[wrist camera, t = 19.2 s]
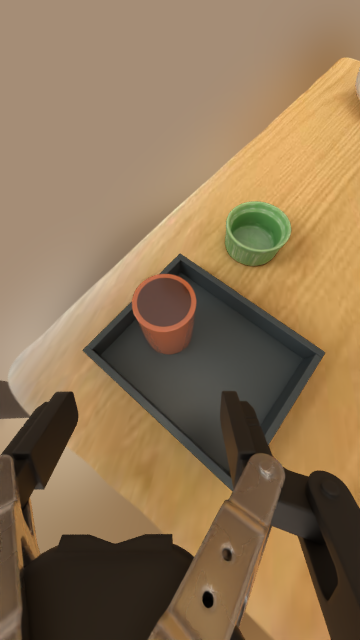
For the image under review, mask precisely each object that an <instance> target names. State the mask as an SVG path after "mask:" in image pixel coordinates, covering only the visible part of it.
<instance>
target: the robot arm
mask: <svg viewBox="0 0 360 640" xmlns="http://www.w3.org/2000/svg"><path fill="white" fill-rule="evenodd" d="M77 422H78V410H77V406H76V402H75V398H74V394H73V392H56V393H55V394H54V395H53V397H52V398H51V399H50V401H49V402H44V403H43V404H42V405H41V406H39V407H38V408H37V409H35V411H34V412H33V413H32V415H31V416H30V417H29V420H27V421H26V423H25V424H24V426H23V427H22V428H21V429H20V431H19V432H18V433H17V434H16V436H15V437H14V438H13V440H12V441H11V442H10V444H9V445H8V446H7V448H6V449H5V450H4V451H3V453H2V454H1V455H0V640H245V639H244V637H243V635H242V633H241V631H240V630H239V628H240V625H241V622H242V618H243V615H244V612H245V609H246V606H247V603H248V600H249V597H250V594H251V591H252V587H253V584H254V581H255V577H256V574H257V571H258V568H259V564H260V561H261V558H262V555H263V552H264V549H265V546H266V543H267V540H268V537H269V534H270V531H271V528H272V526H274V527H276V528H279V529H281V530H284V531H287V532H289V533H292V534H294V535H297V536H298V538H299V541H300V544H301V548H302V551H303V554H304V557H305V560H306V563H307V566H308V569H309V572H310V575H311V579H312V582H313V585H314V588H315V591H316V594H317V597H318V600H319V603H320V606H321V610H322V613H323V616H324V619H325V622H326V625H327V628H328V631H329V634H330V637H331V640H360V508H359V507H358V505H357V503H356V501H355V500H354V498H353V496H352V494H351V493H350V491H349V489H348V488H347V486H346V485H345V484H344V483H343V482H342V481H341V480H340V479H339V478H337V477H336V476H334V475H333V474H331V473H328V472H325V471H314V472H312V473H311V474H310V476H309V477H308V476H304V475H301V474H298V473H295V472H292V471H289V470H287V469H285V468H284V467H282V465H281V464H280V463H279V462H278V461H277V460H276V459H275V458H274V457H273V456H272V453H271V451H270V448H269V446H268V443H267V441H266V438H265V436H264V433H263V431H262V428H261V426H260V423H259V420H258V419H257V415H256V413H255V410H254V408H253V407H252V406H251V405H250V404H249V403H248V402H247V401H240V400H239V397H238V394H237V392H236V391H222V394H221V407H220V422H221V428H222V433H223V438H224V443H225V448H226V453H227V458H228V464H229V469H230V474H231V479H232V484H233V489H234V490H233V492H232V494H231V496H230V498H229V499H228V500H225V501H224V503H223V504H222V506H221V508H220V510H219V512H218V513H217V515H216V517H215V519H214V521H213V523H212V525H211V527H210V529H209V531H208V532H207V534H206V536H205V538H204V540H203V542H202V544H201V546H200V548H199V550H198V552H197V553H196V555H195V557H193V556H192V555H191V554H190V553H189V552H188V551H186V550H185V549H183V548H181V547H179V546H177V545H175V544H173V539H172V534H145V535H142V536H139V537H136V538H133V539H130V540H127V541H123V542H120V543H117V544H114V543H111V542H108V541H105V540H103V539H100V538H97V537H94V536H92V535H62V537H61V540H60V542H59V545H58V546H55V547H53V548H51V549H49V550H47V551H46V552H44V553H42V554H41V555H40V551H39V548H38V544H37V539H36V534H35V526H34V519H33V512H32V506H31V500H30V495H31V494H32V492H33V490H34V489H44V488H45V486H46V484H47V482H48V480H49V478H50V477H51V475H52V473H53V471H54V468H55V467H56V465H57V463H58V461H59V459H60V457H61V455H62V453H63V451H64V449H65V447H66V445H67V443H68V441H69V439H70V437H71V435H72V433H73V431H74V429H75V427H76V425H77Z"/></svg>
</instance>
